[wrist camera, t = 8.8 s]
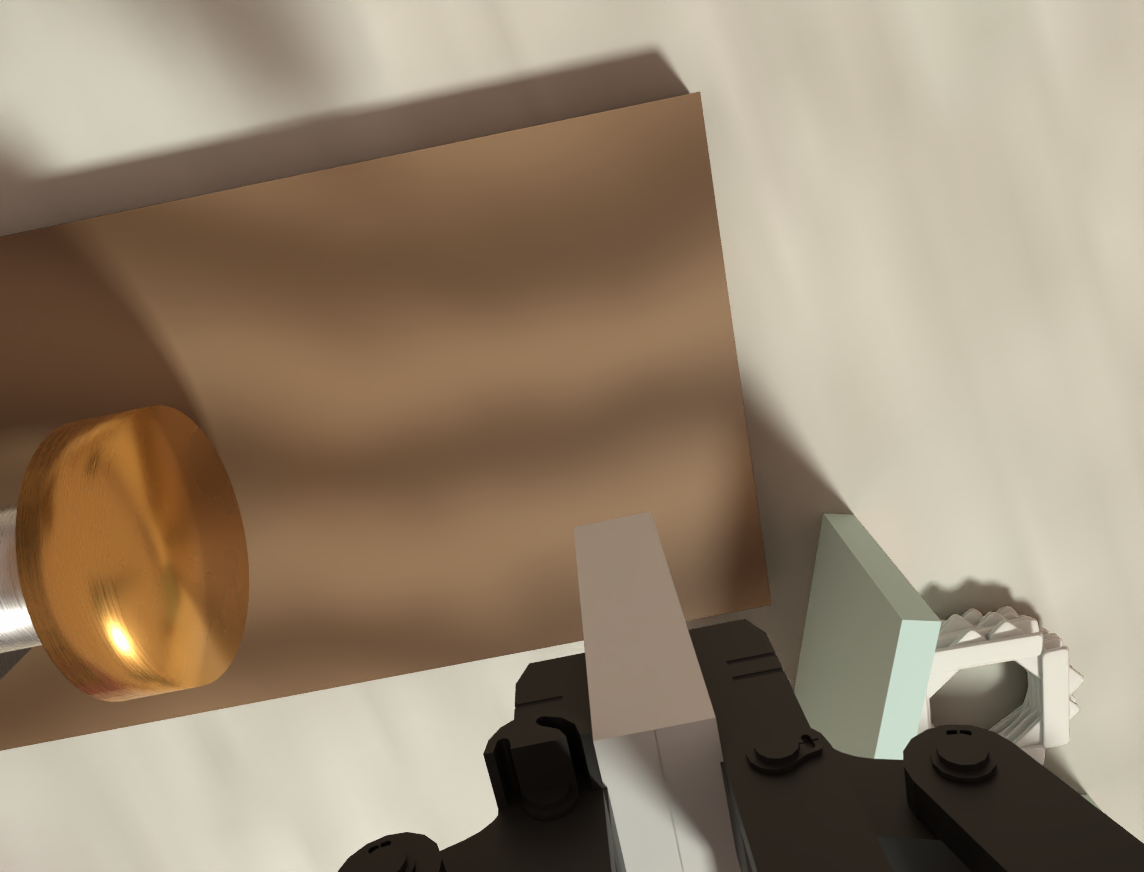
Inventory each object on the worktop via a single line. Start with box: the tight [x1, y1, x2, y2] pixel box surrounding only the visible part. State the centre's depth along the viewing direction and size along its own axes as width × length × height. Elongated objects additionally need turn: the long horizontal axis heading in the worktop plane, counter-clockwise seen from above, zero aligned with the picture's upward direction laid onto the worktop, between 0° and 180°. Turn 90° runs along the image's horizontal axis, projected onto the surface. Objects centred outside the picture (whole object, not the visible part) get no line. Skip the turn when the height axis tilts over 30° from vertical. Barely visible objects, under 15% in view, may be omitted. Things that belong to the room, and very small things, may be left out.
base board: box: [0, 92, 771, 751], centre depth 28 cm, size 16×36×2 cm, turn 101°
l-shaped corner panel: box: [794, 513, 1100, 810], centre depth 29 cm, size 12×12×8 cm
